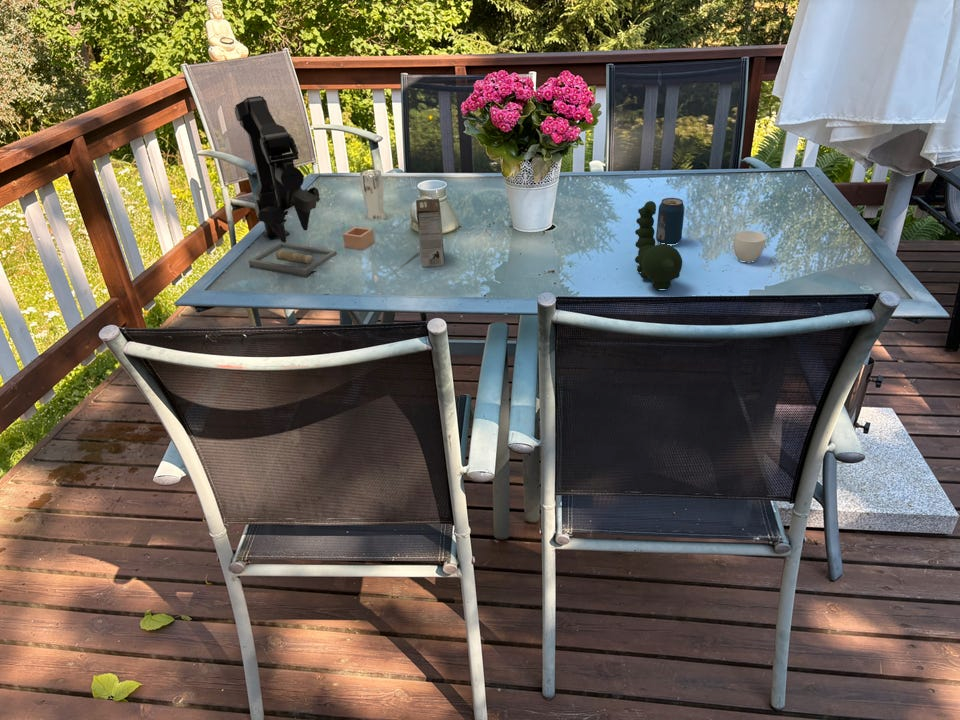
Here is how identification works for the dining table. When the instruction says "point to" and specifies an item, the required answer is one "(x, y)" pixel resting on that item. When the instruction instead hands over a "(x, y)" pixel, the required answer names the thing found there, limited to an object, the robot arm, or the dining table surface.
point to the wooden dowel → (294, 257)
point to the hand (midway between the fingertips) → (295, 236)
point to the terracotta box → (358, 238)
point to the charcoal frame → (287, 269)
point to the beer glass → (373, 193)
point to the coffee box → (430, 232)
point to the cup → (749, 245)
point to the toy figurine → (655, 252)
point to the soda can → (670, 221)
